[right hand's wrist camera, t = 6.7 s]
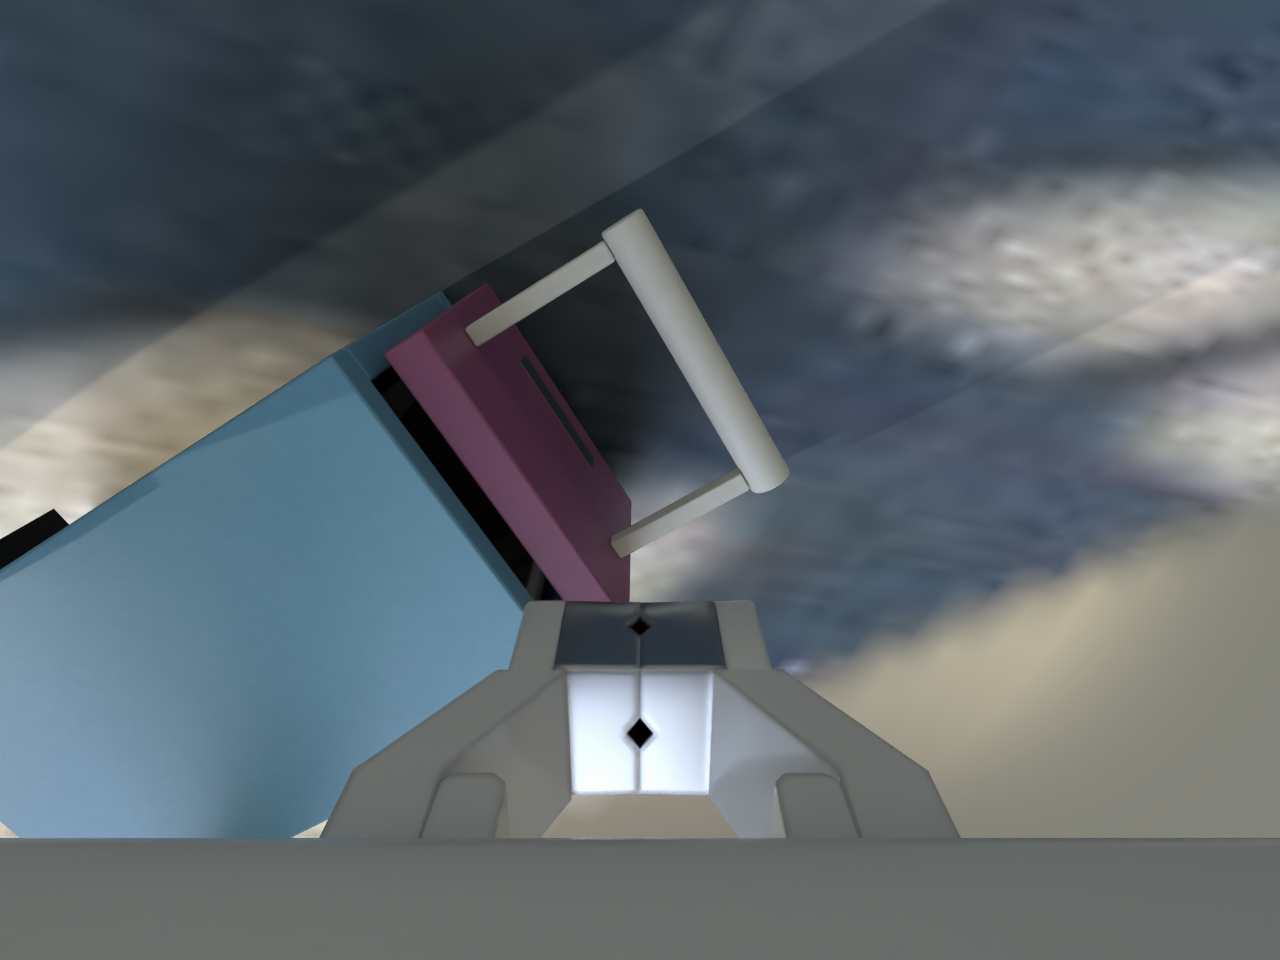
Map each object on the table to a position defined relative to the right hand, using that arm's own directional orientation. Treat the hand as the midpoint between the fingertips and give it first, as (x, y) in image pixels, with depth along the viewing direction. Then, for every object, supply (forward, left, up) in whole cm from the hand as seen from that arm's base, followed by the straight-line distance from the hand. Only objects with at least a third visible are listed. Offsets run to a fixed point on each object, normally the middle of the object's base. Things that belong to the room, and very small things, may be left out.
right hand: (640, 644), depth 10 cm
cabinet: (+14, +1, -19) cm, 23 cm away
